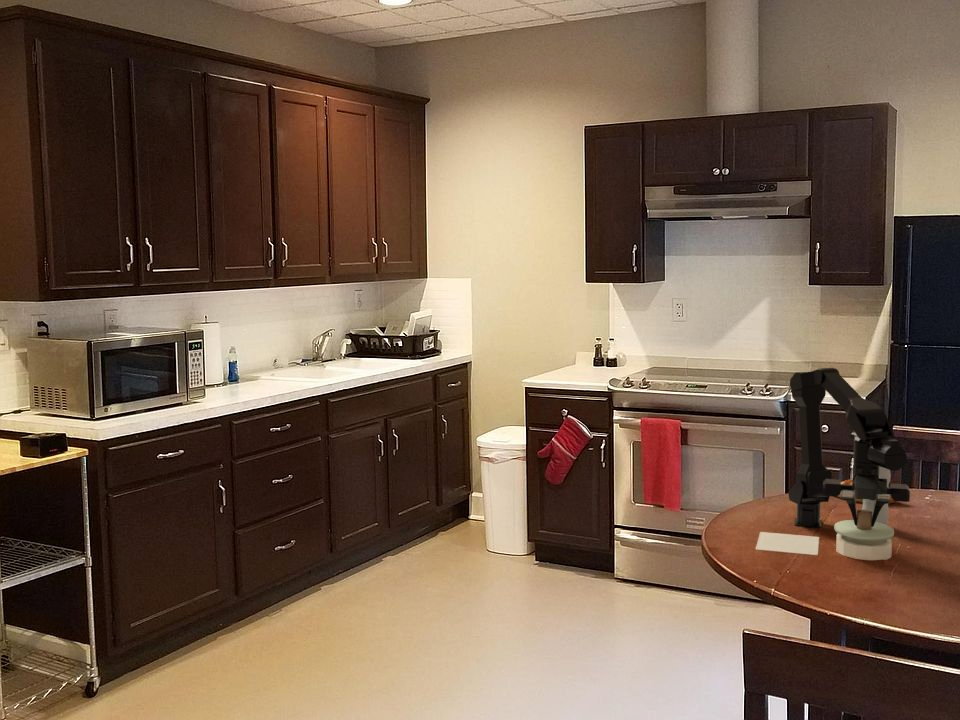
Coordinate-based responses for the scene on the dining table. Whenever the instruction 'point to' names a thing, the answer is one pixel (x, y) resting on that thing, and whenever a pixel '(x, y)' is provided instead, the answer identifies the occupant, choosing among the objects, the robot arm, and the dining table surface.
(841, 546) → the bowl
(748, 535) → the dining table surface
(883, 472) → the bottle
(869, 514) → the lid
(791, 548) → the mat
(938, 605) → the dining table surface
